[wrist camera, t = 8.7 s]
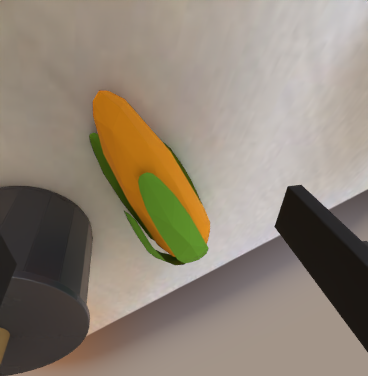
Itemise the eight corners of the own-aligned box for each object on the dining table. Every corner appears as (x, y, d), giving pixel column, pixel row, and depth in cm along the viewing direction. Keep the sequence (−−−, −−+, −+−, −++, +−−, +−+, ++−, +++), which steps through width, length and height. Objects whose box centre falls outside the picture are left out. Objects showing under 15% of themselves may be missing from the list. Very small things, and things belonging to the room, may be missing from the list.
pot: (-71, 193, 22) (-177, 294, 14) (79, 179, 25) (63, 258, 17) (-12, 281, 29) (-60, 381, 21) (100, 263, 32) (95, 346, 24)
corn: (173, 297, 26) (32, 139, 14) (158, 246, 32) (51, 105, 20) (235, 264, 26) (148, 78, 14) (209, 218, 32) (132, 63, 20)
